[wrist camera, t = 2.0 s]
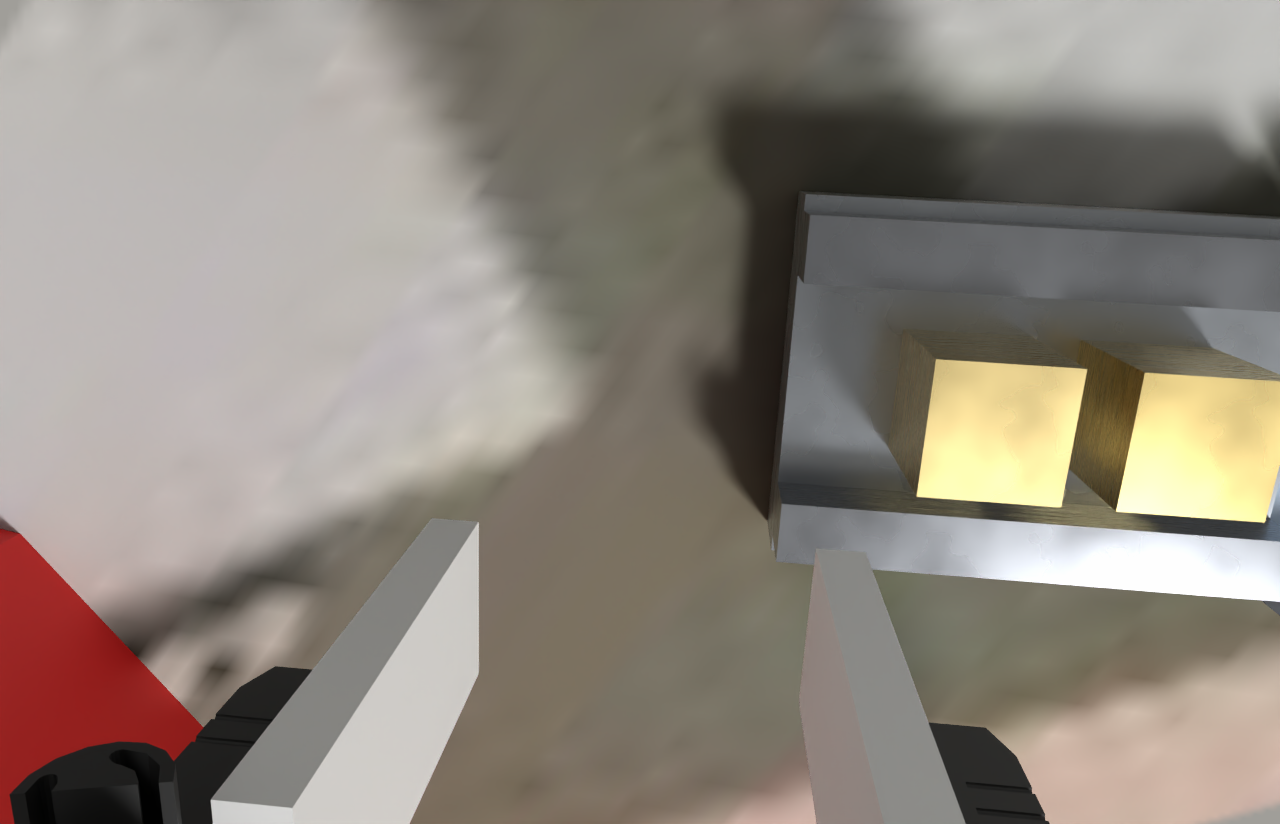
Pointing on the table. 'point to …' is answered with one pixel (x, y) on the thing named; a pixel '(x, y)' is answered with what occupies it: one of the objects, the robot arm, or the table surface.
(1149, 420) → the brass block
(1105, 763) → the table surface
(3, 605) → the book
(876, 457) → the slotted deck
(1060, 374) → the brass block
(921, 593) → the table surface
